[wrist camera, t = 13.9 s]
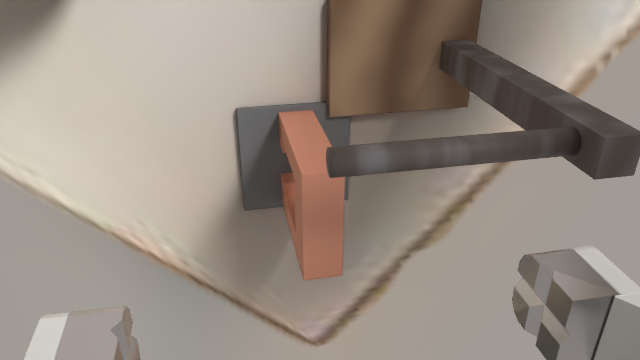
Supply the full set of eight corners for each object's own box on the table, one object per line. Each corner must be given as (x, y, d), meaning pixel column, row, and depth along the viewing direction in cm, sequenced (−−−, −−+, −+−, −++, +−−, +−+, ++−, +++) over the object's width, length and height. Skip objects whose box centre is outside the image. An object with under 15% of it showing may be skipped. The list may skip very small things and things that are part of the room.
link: (312, 109, 47) (344, 170, 37) (313, 198, 51) (342, 275, 41) (278, 112, 46) (301, 174, 36) (282, 201, 51) (303, 280, 40)
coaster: (348, 100, 48) (350, 102, 47) (346, 196, 53) (347, 199, 52) (236, 107, 46) (236, 110, 46) (244, 207, 51) (244, 210, 50)
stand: (476, -9, 45) (682, 61, 26) (461, 102, 50) (627, 232, 31) (276, -3, 42) (341, 83, 23) (280, 115, 47) (338, 268, 28)
